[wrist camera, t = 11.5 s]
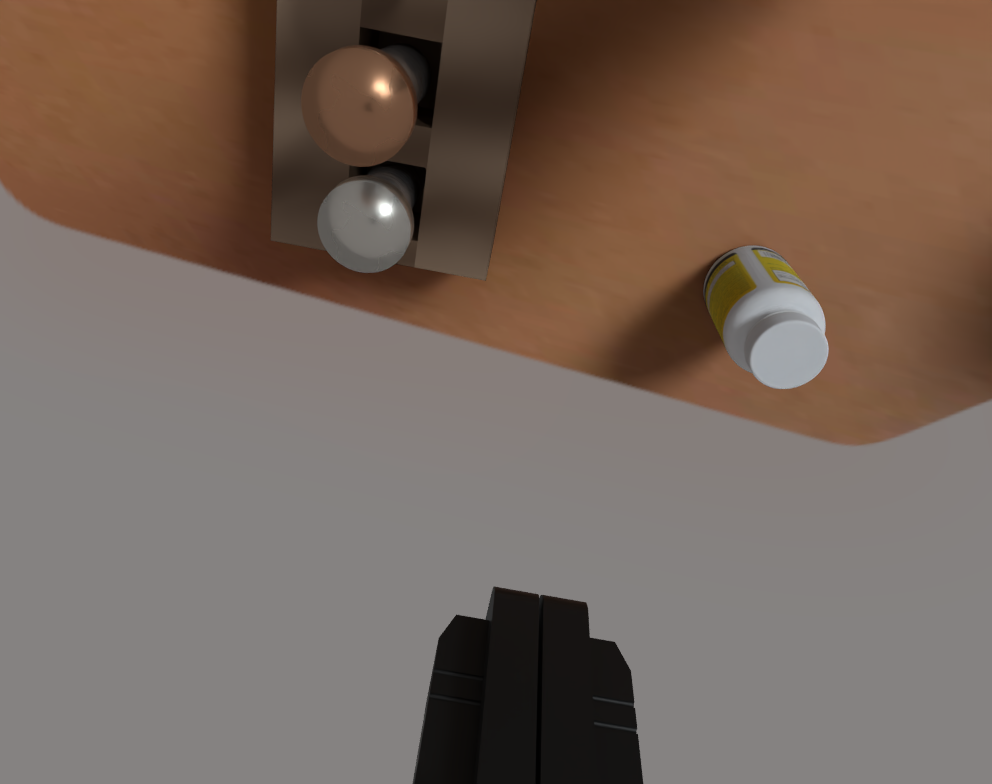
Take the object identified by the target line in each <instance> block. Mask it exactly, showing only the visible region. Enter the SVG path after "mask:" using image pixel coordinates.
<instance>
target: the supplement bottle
mask: <svg viewBox="0 0 992 784" xmlns="http://www.w3.org/2000/svg"><path fill="white" fill-rule="evenodd" d="M703 293H704V300H705V303H706V306H707V309H708V311H709V314H710V316H711V318H712V320H713V322H714V324H715V326H716V329H717V331H718V333H719V335H720V337H721V339H722V341H723V344H724V346H725V348H726V350H727V352H728V354H729V355H730V357H731V358H732V359H733V361H734V362H735V363H736V364H737V365H739V366H740V367H741V368H743V369H744V370H746V371H748V372H751V373H753V375H754V376H755V377H756V378H757V379H758V380H759V381H760V382H761V383H763V384H764V385H766V386H769V387H772V388H777V389H789V388H794V387H798V386H801V385H803V384H805V383H807V382H808V381H810V380H812V379H813V378H814V377H815V376H816V375H817V374H818V373H819V372H820V371H821V370H822V368H823V367H824V365H825V363H826V360H827V357H828V342H827V339H826V337H825V335H824V334H825V318H824V314H823V311H822V308H821V306H820V305H819V303H818V301H817V300H816V299H815V297H814V296H813V295H812V293H811V292H810V291H809V290H808V288H807V287H806V286H805V285H804V283H803V282H802V281H801V279H800V278H799V277H798V275H797V274H796V273H795V272H794V270H793V269H792V268H791V267H790V265H789V264H788V263H787V261H786V260H785V259H784V258H783V257H782V256H780V255H779V254H778V253H777V252H775V251H773V250H771V249H769V248H766V247H762V246H744V247H739V248H736V249H734V250H731V251H729V252H728V253H726V254H724V255H723V256H722V257H720V258H719V259H718V260H717V261H716V262H715V263H714V264H713V266H712V267H711V268H710V270H709V272H708V274H707V276H706V279H705V282H704V289H703Z"/></svg>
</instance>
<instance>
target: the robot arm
mask: <svg viewBox="0 0 992 784" xmlns="http://www.w3.org/2000/svg"><path fill="white" fill-rule="evenodd" d="M636 730H637V722H636V714H635V708H634V696H633V686H632V677H631V670H630V669H629V667H628V665H627V663H626V661H625V660H624V658H623V656H622V654H621V652H620V650H619V649H618V647H617V645H616V643H615V642H612V641H606V640H599V639H594V638H590V636H589V617H588V607H587V604H586V602H580V601H574V600H568V599H563V598H557V597H551V596H546V595H541V596H540V598H539V595H538V594H533V593H528V592H522V591H516V590H510V589H505V588H499V587H493V591H492V594H491V598H490V603H489V607H488V611H487V616H486V620H484V619H478V618H472V617H466V616H460V615H456V616H455V617H454V619H453V620H452V621H451V623H450V624H449V625H448V627H447V628H446V629H445V631H444V632H443V633H442V635H441V636H440V637H439V640H438V645H437V650H436V655H435V661H434V666H433V671H432V676H431V682H430V687H429V692H428V697H427V702H426V708H425V714H424V721H423V726H422V732H421V738H420V744H419V750H418V755H417V762H416V767H415V773H414V779H413V784H643V778H642V769H641V759H640V750H639V741H638V734H636Z"/></svg>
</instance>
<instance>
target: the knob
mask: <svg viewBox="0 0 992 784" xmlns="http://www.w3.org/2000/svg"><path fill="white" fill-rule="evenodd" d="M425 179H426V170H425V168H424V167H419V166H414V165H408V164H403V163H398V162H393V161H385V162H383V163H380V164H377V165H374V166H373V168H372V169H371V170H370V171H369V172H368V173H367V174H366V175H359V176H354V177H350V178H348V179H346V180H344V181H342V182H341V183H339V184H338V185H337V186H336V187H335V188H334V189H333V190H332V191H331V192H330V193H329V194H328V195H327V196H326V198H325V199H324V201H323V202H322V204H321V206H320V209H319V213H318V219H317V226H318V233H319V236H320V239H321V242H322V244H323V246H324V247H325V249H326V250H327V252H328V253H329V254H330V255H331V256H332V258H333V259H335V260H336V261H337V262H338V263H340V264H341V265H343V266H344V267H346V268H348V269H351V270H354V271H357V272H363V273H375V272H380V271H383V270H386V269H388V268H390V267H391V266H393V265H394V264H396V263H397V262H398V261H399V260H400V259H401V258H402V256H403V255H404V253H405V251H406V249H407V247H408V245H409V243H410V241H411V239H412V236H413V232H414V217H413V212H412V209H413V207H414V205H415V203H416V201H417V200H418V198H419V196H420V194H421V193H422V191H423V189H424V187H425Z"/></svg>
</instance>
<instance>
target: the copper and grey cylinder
mask: <svg viewBox="0 0 992 784" xmlns="http://www.w3.org/2000/svg"><path fill="white" fill-rule="evenodd" d="M430 84H431V70H430V66H429V63H428V61H427V59H426V58H425V56H424V55H423V54H422V53H421V52H420V51H419V50H418V49H417V48H415V47H414V46H412V45H409V44H406V43H394V44H391V45H388V46H386V47H384V48H382V49H381V50H379V49H377V48H374V47H370V46H365V45H352V46H346V47H343V48H340V49H338V50H335V51H333V52H331V53H329V54H327V55H325V56H324V57H322V58H321V59H320V60H319V61H318V62H317V63H316V64H315V65H314V66H313V67H312V68H311V70H310V71H309V73H308V75H307V77H306V79H305V82H304V85H303V89H302V95H301V108H302V115H303V118H304V122H305V125H306V127H307V130H308V131H309V133H310V135H311V137H312V138H313V140H314V141H315V143H316V144H317V145H318V146H319V147H320V148H321V149H322V150H323V151H324V152H325V153H326V154H328V155H329V156H331V157H332V158H334V159H335V160H337V161H339V162H342V163H344V164H348V165H351V166H358V167H367V166H374V165H377V164H380V163H383V162H385V161H387V160H388V159H390V158H391V157H393V156H394V155H395V154H396V153H397V152H398V151H399V150H400V149H401V148H402V147H403V145H404V144H405V143H406V142H407V140H408V139H409V137H410V136H411V134H412V132H413V129H414V127H415V123H416V119H417V110H418V106H417V104H418V103H419V102H420V101H421V100H422V99H423V98H424V96H425V95H426V94H427V92H428V90H429V87H430Z"/></svg>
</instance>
